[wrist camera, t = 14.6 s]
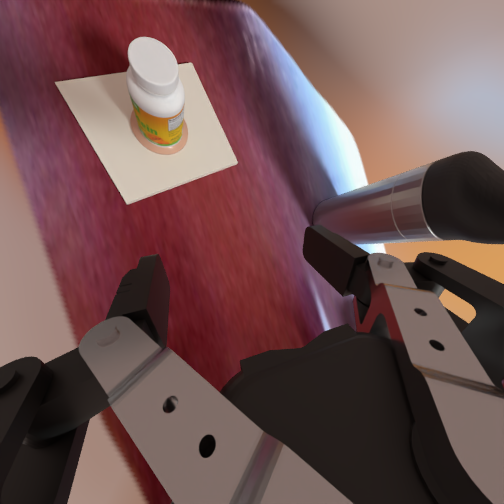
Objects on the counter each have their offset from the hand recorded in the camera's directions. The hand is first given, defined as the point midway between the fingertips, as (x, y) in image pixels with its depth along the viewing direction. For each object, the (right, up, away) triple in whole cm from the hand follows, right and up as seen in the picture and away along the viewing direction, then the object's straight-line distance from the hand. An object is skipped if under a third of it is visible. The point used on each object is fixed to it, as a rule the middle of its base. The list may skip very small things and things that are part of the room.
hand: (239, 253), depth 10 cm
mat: (-12, +17, +16) cm, 26 cm away
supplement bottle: (-12, +17, +15) cm, 25 cm away
